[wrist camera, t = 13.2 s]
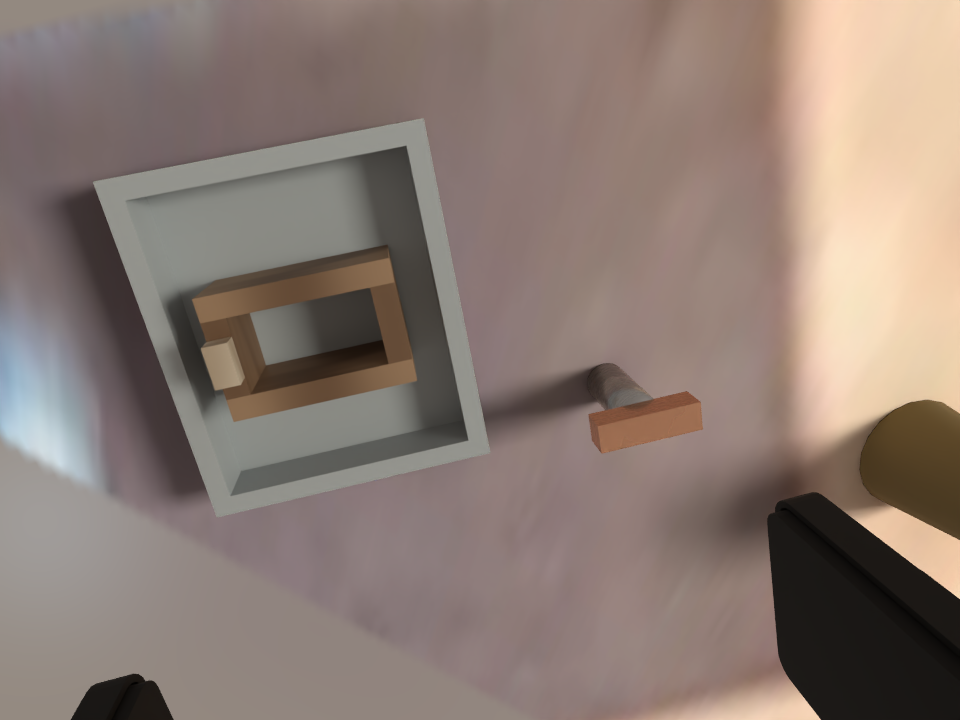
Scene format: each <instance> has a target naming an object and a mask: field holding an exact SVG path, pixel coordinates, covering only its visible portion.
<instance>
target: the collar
mask: <svg viewBox="0 0 960 720" xmlns="http://www.w3.org/2000/svg"><path fill="white" fill-rule="evenodd" d="M365 288H370V290H371V294H372V298H373V302H374V306H375V310H376V314H377V318H378V322H379V327H380V331H381V335H382V339H383V340H380V341H375V342H370V343H366V344H361V345H357V346H352V347H348V348H343V349H339V350H334V351H329V352H325V353H320V354H316V355H311V356H307V357H302V358H297V359H293V360H288V361H284V362H279V363H275V364H270V365H266V363H265V360H264V357H263V354H262V351H261V347H260V344H259V341H258V338H257V335H256V332H255V328H254V325H253V322H252V319H251V316H250V313H252V312H257V311H262V310H266V309H271V308H276V307H281V306H285V305H290V304H295V303H299V302H304V301H309V300H313V299H318V298H323V297H328V296H332V295H337V294H342V293H346V292H351V291H356V290H361V289H365ZM192 301H193V304H194V307H195V310H196V313H197V316H198V319H199V322H200V325H201V328H202V331H203V333H204V336H205V339H206V343H205V344H204V345H203V346H202V348H201V351H202V354H203V357H204V360H205V362H206V365H207V368H208V371H209V374H210V377H211V380H212V383H213V386H214V389H215V391H216V390H220V389H223V392H224V395H225V398H226V401H227V404H228V407H229V410H230V413H231V416H232V419H233V421H234V422H237V421H241V420H246V419H250V418H254V417H259V416H263V415H268V414H272V413H277V412H281V411H286V410H290V409H294V408H299V407H303V406H308V405H312V404H317V403H321V402H325V401H330V400H334V399H339V398H343V397H348V396H352V395H357V394H361V393H365V392H370V391H374V390H379V389H383V388H388V387H392V386H397V385H401V384H405V383H410V382H414V381H417V376H416V370H415V364H414V358H413V352H412V348H411V344H410V340H409V335H408V331H407V327H406V322H405V318H404V314H403V309H402V305H401V301H400V296H399V292H398V288H397V283H396V279H395V275H394V270H393V266H392V262H391V257H390V253H389V249H388V245H383V246H378V247H373V248H368V249H364V250H359V251H354V252H349V253H344V254H340V255H335V256H330V257H325V258H320V259H315V260H311V261H306V262H301V263H296V264H291V265H287V266H282V267H277V268H272V269H267V270H262V271H258V272H253V273H248V274H243V275H238V276H234V277H229V278H224V279H219V280H215V281H214V282H213V283H211V284H210V285H209V286H208V287H206V288H205V289H204V290H203V291H201V292H200V293H199V294H198V295H197V296H195V297H194V298H193V299H192Z"/></svg>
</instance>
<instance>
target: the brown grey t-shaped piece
mask: <svg viewBox="0 0 960 720" xmlns="http://www.w3.org/2000/svg"><path fill="white" fill-rule="evenodd" d="M587 384H588V389H589V391H590V393H591V394H592V395H593V397H594V398H595V399H596V400H597V401H598V402H599V403H600V405H601V406H602V407H603V408H604V409H605V411H601V412H596V413H592V414H589V422H590V429H591V436H592V441H593V442H594V444H595V445H596V447H597V448H598V449H599V451H600V452H601V453H606V452H610V451H614V450H619V449H623V448H627V447H631V446H635V445H639V444H644V443H648V442H652V441H656V440H660V439H664V438H669V437H673V436H677V435H681V434H685V433H690V432H694V431H698V430H702V429H703V427H702V414H701V402H700V401H699V400H697V399H696V398H695V397H694V396H692V395H691V394H690V393H689V392H687V391H686V392H682V393H678V394H673V395H669V396H665V397H660V398H656V399H653V398H652V397H651V396H650V395H649V394H648V393H647V392H646V391H644V390H643V389H642V388H641V387H640V386H639V385H638V384H637V383H636V382H635V381H633V380H632V379H631V378H630V377H629V376H628V375H627V374H626V373H625V372H624V371H623V370H621V369H620V368H619V367H618V366H616V365H614V364H610V363H606V364H601V365H599V366H597V367H596V368H595V369H594V370H593V371H592V372H591V373H590V375H589V377H588V382H587Z"/></svg>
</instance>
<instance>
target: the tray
mask: <svg viewBox="0 0 960 720" xmlns="http://www.w3.org/2000/svg"><path fill="white" fill-rule="evenodd" d="M93 184H94V186H95V189H96V192H97V195H98V197H99V200H100V203H101V205H102V208H103V211H104V213H105V216H106V219H107V222H108V224H109V227H110V230H111V232H112V235H113V238H114V241H115V243H116V246H117V249H118V251H119V254H120V257H121V259H122V262H123V265H124V268H125V270H126V273H127V276H128V278H129V281H130V284H131V287H132V289H133V292H134V295H135V297H136V300H137V303H138V305H139V308H140V311H141V314H142V316H143V319H144V322H145V324H146V327H147V330H148V333H149V335H150V338H151V341H152V343H153V346H154V349H155V351H156V354H157V357H158V360H159V362H160V365H161V368H162V370H163V373H164V376H165V379H166V381H167V384H168V387H169V389H170V392H171V395H172V397H173V400H174V403H175V406H176V408H177V411H178V414H179V416H180V419H181V422H182V425H183V427H184V430H185V433H186V435H187V438H188V441H189V443H190V446H191V449H192V452H193V454H194V457H195V460H196V462H197V465H198V468H199V471H200V473H201V476H202V479H203V481H204V484H205V487H206V489H207V492H208V495H209V498H210V500H211V503H212V506H213V508H214V511H215V514H216V517H221V516H225V515H230V514H234V513H238V512H242V511H247V510H251V509H255V508H259V507H263V506H268V505H272V504H276V503H280V502H285V501H289V500H293V499H297V498H302V497H306V496H310V495H314V494H319V493H323V492H327V491H331V490H335V489H340V488H344V487H348V486H352V485H357V484H361V483H365V482H369V481H374V480H378V479H382V478H386V477H391V476H395V475H399V474H403V473H407V472H412V471H416V470H420V469H424V468H429V467H433V466H437V465H441V464H446V463H450V462H454V461H458V460H463V459H467V458H471V457H475V456H479V455H484V454H488V453H490V448H489V443H488V438H487V433H486V428H485V423H484V418H483V413H482V408H481V403H480V398H479V393H478V388H477V383H476V378H475V373H474V368H473V363H472V358H471V353H470V348H469V343H468V338H467V333H466V328H465V323H464V318H463V313H462V308H461V303H460V298H459V293H458V288H457V283H456V278H455V273H454V268H453V263H452V258H451V253H450V248H449V243H448V238H447V233H446V228H445V223H444V218H443V213H442V208H441V203H440V198H439V193H438V188H437V183H436V178H435V173H434V168H433V163H432V158H431V153H430V148H429V142H428V137H427V132H426V127H425V122H424V118H422V119H417V120H412V121H406V122H401V123H396V124H391V125H386V126H380V127H375V128H370V129H365V130H360V131H354V132H349V133H344V134H339V135H334V136H328V137H323V138H318V139H313V140H308V141H302V142H297V143H292V144H287V145H282V146H276V147H271V148H266V149H261V150H256V151H250V152H245V153H240V154H235V155H230V156H224V157H219V158H214V159H209V160H204V161H198V162H193V163H188V164H183V165H178V166H172V167H167V168H162V169H157V170H152V171H146V172H141V173H136V174H131V175H126V176H120V177H115V178H110V179H105V180H100V181H94V182H93ZM383 245H388V249H389V253H390V257H391V262H392V266H393V270H394V275H395V279H396V283H397V288H398V292H399V296H400V301H401V305H402V309H403V314H404V318H405V322H406V327H407V331H408V335H409V340H410V344H411V348H412V352H413V358H414V364H415V370H416V376H417V381H414V382H410V383H405V384H401V385H397V386H392V387H388V388H383V389H379V390H374V391H370V392H365V393H361V394H357V395H352V396H348V397H343V398H339V399H334V400H330V401H325V402H321V403H317V404H312V405H308V406H303V407H299V408H294V409H290V410H286V411H281V412H277V413H272V414H268V415H263V416H259V417H254V418H250V419H246V420H241V421H237V422H234V421H233V419H232V416H231V413H230V410H229V407H228V404H227V401H226V398H225V395H224V392H223V389H220V390H216V391H215V389H214V386H213V383H212V380H211V377H210V374H209V371H208V368H207V365H206V362H205V360H204V357H203V354H202V351H201V348H202V346H203V345H204V344H205V343H206V339H205V336H204V333H203V331H202V328H201V325H200V322H199V319H198V316H197V313H196V310H195V307H194V304H193V301H192V299H193V298H194V297H195V296H197V295H198V294H199V293H200V292H201V291H203V290H204V289H205V288H206V287H208V286H209V285H210V284H211V283H213V282H214V281H215V280H219V279H224V278H229V277H234V276H238V275H243V274H248V273H253V272H258V271H262V270H267V269H272V268H277V267H282V266H287V265H291V264H296V263H301V262H306V261H311V260H315V259H320V258H325V257H330V256H335V255H340V254H344V253H349V252H354V251H359V250H364V249H368V248H373V247H378V246H383ZM250 316H251V319H252V322H253V325H254V328H255V332H256V335H257V338H258V341H259V344H260V347H261V351H262V354H263V357H264V360H265V363H266V365H270V364H275V363H279V362H284V361H288V360H293V359H297V358H302V357H307V356H311V355H316V354H320V353H325V352H329V351H334V350H339V349H343V348H348V347H352V346H357V345H361V344H366V343H370V342H375V341H380V340H383V339H382V335H381V331H380V327H379V322H378V318H377V314H376V310H375V306H374V302H373V298H372V294H371V290H370V288H365V289H361V290H356V291H351V292H346V293H342V294H337V295H332V296H328V297H323V298H318V299H313V300H309V301H304V302H299V303H295V304H290V305H285V306H281V307H276V308H271V309H266V310H262V311H257V312H252V313H250Z"/></svg>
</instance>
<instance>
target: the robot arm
mask: <svg viewBox="0 0 960 720" xmlns="http://www.w3.org/2000/svg"><path fill="white" fill-rule="evenodd" d="M767 525H768V537H769V549H770V561H771V573H772V585H773V597H774V609H775V621H776V633H777V645H778V654H779V658H780V661H781V664H782V666H783V669H784V671H785V672H786V674H787V676H788V677H789V679H790V680H791V682H792V683H793V684H794V685H795V687H796V688H797V689H798V691H799V692H800V693H801V694H802V696H803V697H804V698H805V700H806V701H807V702H808V703H809V705H810V706H811V707H812V709H813V710H814V711H815V712H816V714H817V715H818V716H819V718H820V719H821V720H960V599H959V598H957V597H956V596H955V595H953V594H952V593H951V592H950V591H948V590H947V589H946V588H944V587H943V586H942V585H940V584H939V583H938V582H936V581H935V580H934V579H932V578H931V577H930V576H929V575H927V574H926V573H925V572H923V571H921V570H920V569H918V568H917V567H916V566H914V565H913V564H912V563H910V562H909V561H908V560H906V559H905V558H904V557H902V556H901V555H900V554H899V553H897V552H896V551H895V550H893V549H892V548H891V547H889V546H888V545H887V544H885V543H884V542H883V541H882V540H880V539H879V538H878V537H876V536H875V535H874V534H872V533H871V532H870V531H868V530H867V529H866V528H865V527H863V526H862V525H861V524H859V523H858V522H857V521H855V520H854V519H853V518H851V517H850V516H849V515H848V514H846V513H845V512H844V511H842V510H841V509H840V508H838V507H837V506H836V505H834V504H833V503H832V502H831V501H829V500H828V499H827V498H825V497H824V496H823V495H821V494H819V493H816V492H812V493H808V494H804V495H801V496H797V497H793V498H789V499H786V500H782V501H779V502H778V503H777V505H776V508H775V513H772V514H770V515H769V516H768V519H767ZM71 720H173V718H172V716H171V714H170V711H169V709H168V707H167V705H166V703H165V700H164V698H163V696H162V694H161V692H160V690H159V687H158V686H157V684H156V683H155V682H154V681H145V680H144V678H143V677H142V676H140V675H139V674H131V675H127V676H123V677H119V678H116V679H112V680H108V681H104V682H101V683H97V684H95V685H93V686H91V687H90V689H89V690H88V691H87V692H86V694H85V696H84V698H83V699H82V701H81V703H80V705H79V706H78V708H77V710H76V712H75V713H74V715H73V717H72V719H71Z"/></svg>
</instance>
